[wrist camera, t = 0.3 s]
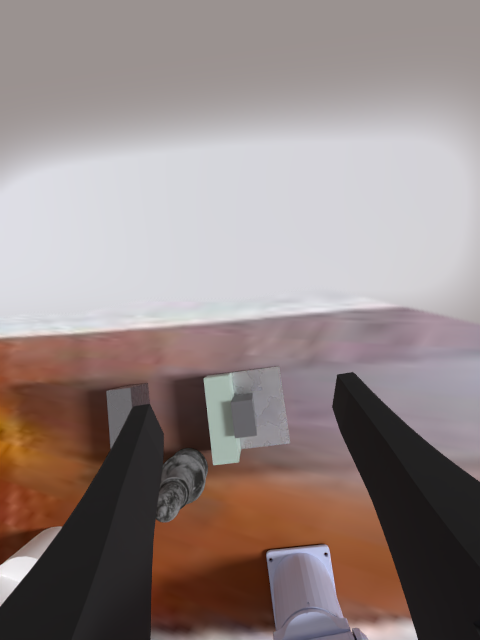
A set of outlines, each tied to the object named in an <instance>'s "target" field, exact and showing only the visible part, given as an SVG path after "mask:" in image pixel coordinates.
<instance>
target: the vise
mask: <svg viewBox="0 0 480 640" xmlns="http://www.w3.org/2000/svg"><path fill="white" fill-rule="evenodd" d="M230 373H231V374H232V382H233V390H234V395H242V394H250V393H253V399H254V407H255V414H256V422H257V436H251V437H243V438H239V439H240V447H241V449H246V448H254V447H263V446H271V445H280V444H289V443H290V438H289V431H288V424H287V417H286V410H285V403H284V396H283V389H282V383H281V376H280V369H279V366H277V367H269V368H262V369H254V370H246V371H238V372H230ZM223 374H226V373H223ZM215 375H219V374H215ZM208 376H211V375H207V376H206V377H208ZM106 393H107V406H108V420H109V433H110V447H111V448H112V446H113V444H114V442H115V441H116V439H117V437H118V435H119V433H120V431H121V429H122V427H123V425H124V423H125V421H126V419H127V417H128V415H129V413H130V411H131V409H132V408H133V406H138V405H145V404H150V402H149V391H148V383H144V384H137V385H129V386H124V387H120V388H116V389H112V390H108V391H106Z"/></svg>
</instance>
